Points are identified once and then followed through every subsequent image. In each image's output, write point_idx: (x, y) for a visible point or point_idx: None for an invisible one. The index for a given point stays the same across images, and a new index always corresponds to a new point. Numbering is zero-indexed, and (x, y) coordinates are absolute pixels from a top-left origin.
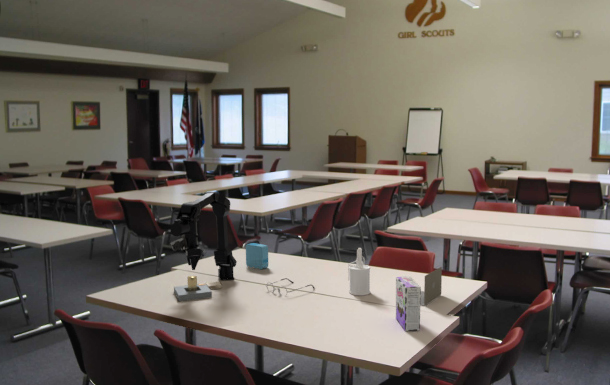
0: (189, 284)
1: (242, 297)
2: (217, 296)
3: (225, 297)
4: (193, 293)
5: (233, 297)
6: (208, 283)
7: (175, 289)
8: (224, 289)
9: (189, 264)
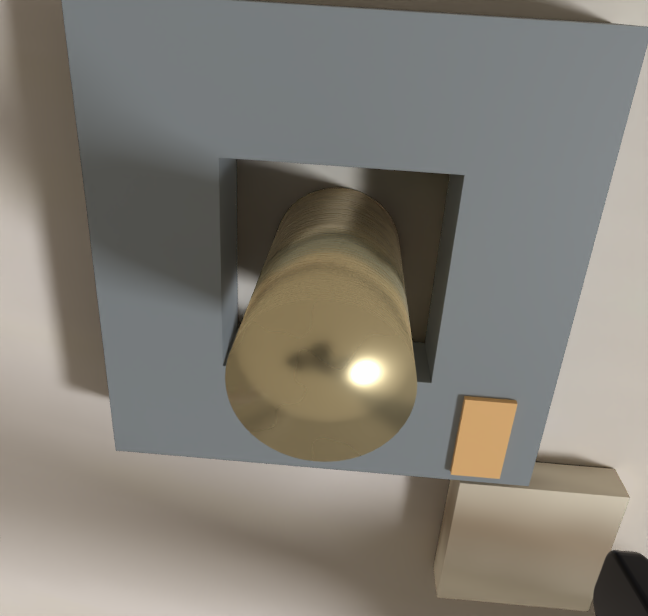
0: (274, 263)
1: (42, 608)
2: (148, 458)
3: (87, 506)
4: (99, 235)
5: (65, 557)
6: (578, 515)
7: (454, 15)
8: (366, 572)
9: (609, 585)
